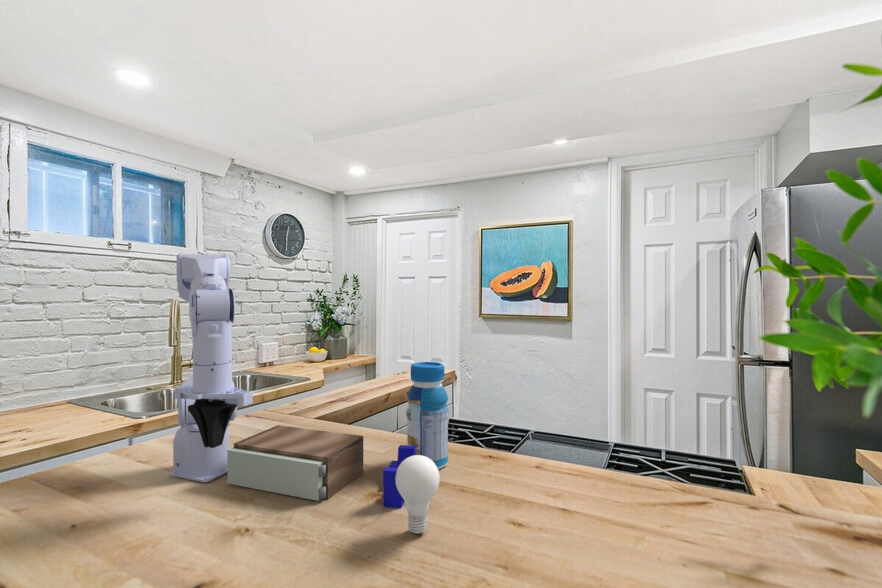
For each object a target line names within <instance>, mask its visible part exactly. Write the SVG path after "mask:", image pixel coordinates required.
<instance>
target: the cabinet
mask: <svg viewBox="0 0 882 588" xmlns="http://www.w3.org/2000/svg"><path fill="white" fill-rule="evenodd" d="M233 448H237V449H244V450H250V451H257V452H263V453H269V454H276V455H282V456H289V457H295V458H301V459H308V460H314V461H321V462H323V464H324V465H326V476H324V477H323V486H326V498H324V499H323V500H329V499H331V498H332V497H334V496H335V495H336V494H337V493H339V492H340V491H342V490H343V489H344V488H345V487H347V486H348V485H349V484H350V483H352V482H353V481H354V480H356V479H357V478H359V477H360V476H361V475H363V473H364V472H365V471H364V435H360V434H350V433H343V432H342V433H341V432H335V431H327V430H326V431H325V430H320V429H319V430H317V429H310V428H303V427H295V426H288V425H280V424H278V425H274V426H272V427H271V428H268V429H265V430H263V431H260V432H257V433H256V434H254V435H251V436H249V437H247V438H244V439H242V440H240V441H239V440H238V441H236V442H235V443H233Z"/></svg>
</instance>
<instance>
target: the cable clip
mask: <svg viewBox="0 0 882 588" xmlns="http://www.w3.org/2000/svg"><path fill="white" fill-rule="evenodd" d="M413 455H416V446H410V445H408V444H406V445H405V444H400V445H399V446H398V447H397V460H391V462H390V464H389V465H388V466H385V467H384V469H383V471H382V480H383V481H382V482H383V483H382V485H383V486H382V488H383V489H382V490H383V491H382V497H383V499H382V500H383V501H382V503H383V504H382V505H383V506H382V507H383V508H391V507H392V508H393V509H396V508H397V509H402V508H403V506H404V504H405V501H404V499H403V498H402V496H401V495H400V493H399V492H398V490H397V487H396V482H395V476H396V472H397V469H398V467H399V465H400V464H401V463H402V462H403V461H404V460H405V459H406V458H408V457H410V456H413ZM392 508H391V509H392Z"/></svg>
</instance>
